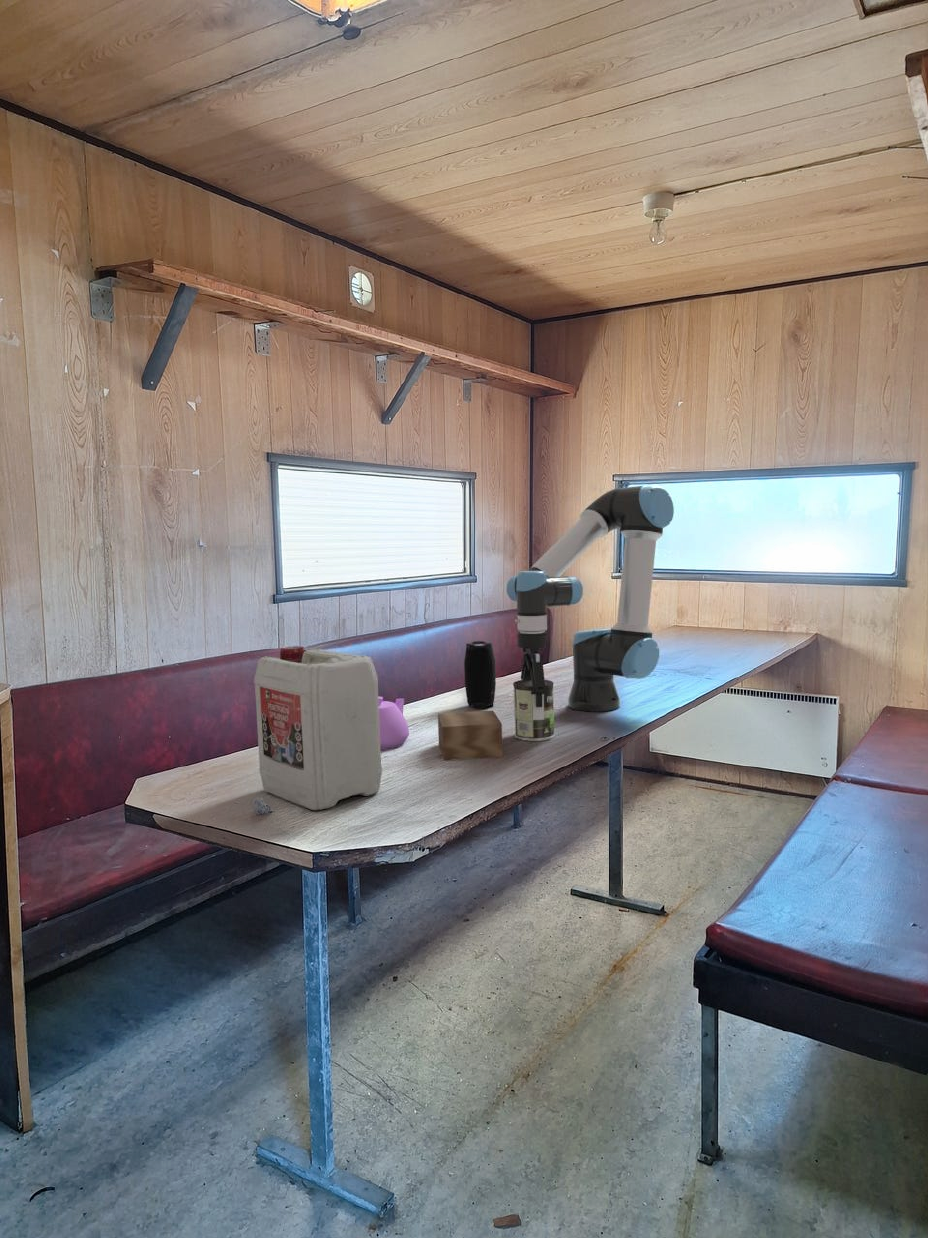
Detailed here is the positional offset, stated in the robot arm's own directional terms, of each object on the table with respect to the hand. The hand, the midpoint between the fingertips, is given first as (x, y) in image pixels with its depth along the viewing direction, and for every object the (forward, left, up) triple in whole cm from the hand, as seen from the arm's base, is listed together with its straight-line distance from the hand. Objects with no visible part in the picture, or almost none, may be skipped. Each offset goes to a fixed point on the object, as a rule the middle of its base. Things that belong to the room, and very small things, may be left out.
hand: (533, 713), depth 207 cm
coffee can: (0, 0, -6) cm, 6 cm away
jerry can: (+52, +35, -6) cm, 63 cm away
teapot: (+40, -2, -6) cm, 40 cm away
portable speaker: (+9, -38, -6) cm, 40 cm away
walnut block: (+18, +10, -6) cm, 21 cm away
